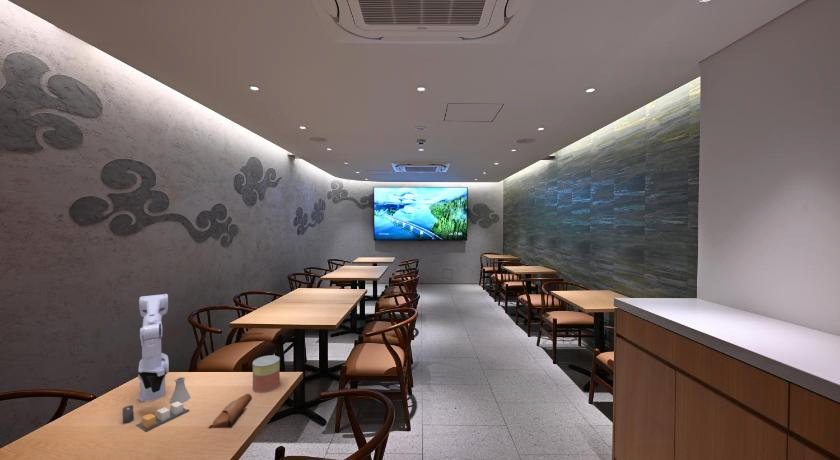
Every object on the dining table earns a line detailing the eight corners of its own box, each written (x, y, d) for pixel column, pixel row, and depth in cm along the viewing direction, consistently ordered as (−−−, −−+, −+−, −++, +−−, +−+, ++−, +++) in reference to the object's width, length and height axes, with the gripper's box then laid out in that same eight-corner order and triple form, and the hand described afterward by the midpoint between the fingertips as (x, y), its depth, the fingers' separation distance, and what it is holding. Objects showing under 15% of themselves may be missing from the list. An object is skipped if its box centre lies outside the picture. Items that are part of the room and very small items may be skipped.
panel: (135, 427, 116) (135, 423, 116) (178, 408, 129) (178, 404, 129) (146, 434, 113) (145, 430, 112) (189, 413, 125) (189, 409, 125)
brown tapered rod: (230, 401, 134) (239, 387, 134) (246, 408, 134) (254, 395, 135) (206, 429, 116) (216, 413, 116) (224, 438, 117) (234, 422, 117)
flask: (179, 408, 128) (178, 384, 128) (164, 406, 130) (164, 382, 130) (195, 398, 136) (194, 375, 135) (181, 396, 137) (180, 373, 137)
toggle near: (170, 411, 124) (170, 404, 124) (177, 408, 127) (177, 401, 126) (175, 414, 123) (175, 407, 122) (183, 411, 125) (183, 403, 125)
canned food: (283, 379, 152) (283, 355, 152) (273, 392, 141) (273, 365, 140) (259, 380, 151) (259, 355, 151) (247, 393, 140) (247, 366, 140)
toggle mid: (156, 418, 120) (156, 410, 120) (164, 414, 123) (164, 407, 122) (162, 421, 119) (162, 413, 118) (169, 417, 121) (169, 410, 121)
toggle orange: (142, 425, 116) (141, 416, 116) (150, 421, 119) (150, 413, 118) (147, 428, 115) (147, 420, 114) (155, 424, 117) (155, 416, 117)
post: (117, 424, 118) (117, 409, 118) (132, 418, 122) (132, 403, 122) (123, 428, 116) (123, 412, 116) (138, 421, 120) (138, 406, 119)
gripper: (130, 355, 123) (130, 389, 124) (148, 363, 117) (149, 399, 117) (152, 348, 130) (152, 381, 130) (170, 356, 123) (171, 390, 123)
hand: (152, 389), depth 124 cm, fingers open, 5 cm apart
